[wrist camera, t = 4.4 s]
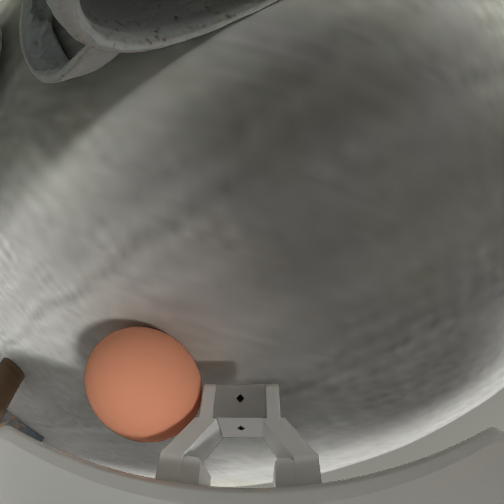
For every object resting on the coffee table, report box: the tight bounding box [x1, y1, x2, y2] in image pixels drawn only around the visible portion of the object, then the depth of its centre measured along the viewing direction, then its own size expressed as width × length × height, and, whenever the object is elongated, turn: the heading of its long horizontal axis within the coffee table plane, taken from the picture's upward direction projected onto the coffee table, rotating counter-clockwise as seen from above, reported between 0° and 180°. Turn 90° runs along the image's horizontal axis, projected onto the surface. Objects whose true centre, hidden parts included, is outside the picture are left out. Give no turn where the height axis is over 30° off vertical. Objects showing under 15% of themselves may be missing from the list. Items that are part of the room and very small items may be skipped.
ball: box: [84, 327, 202, 442], centre depth 10 cm, size 5×5×5 cm
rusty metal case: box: [0, 410, 44, 442], centre depth 20 cm, size 11×3×10 cm, turn 43°
